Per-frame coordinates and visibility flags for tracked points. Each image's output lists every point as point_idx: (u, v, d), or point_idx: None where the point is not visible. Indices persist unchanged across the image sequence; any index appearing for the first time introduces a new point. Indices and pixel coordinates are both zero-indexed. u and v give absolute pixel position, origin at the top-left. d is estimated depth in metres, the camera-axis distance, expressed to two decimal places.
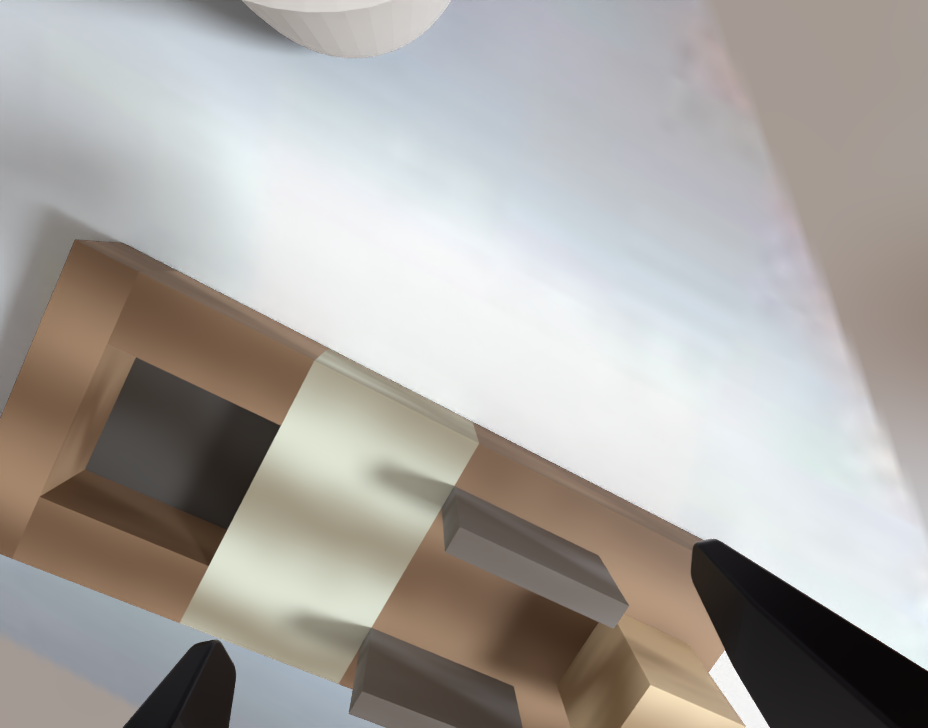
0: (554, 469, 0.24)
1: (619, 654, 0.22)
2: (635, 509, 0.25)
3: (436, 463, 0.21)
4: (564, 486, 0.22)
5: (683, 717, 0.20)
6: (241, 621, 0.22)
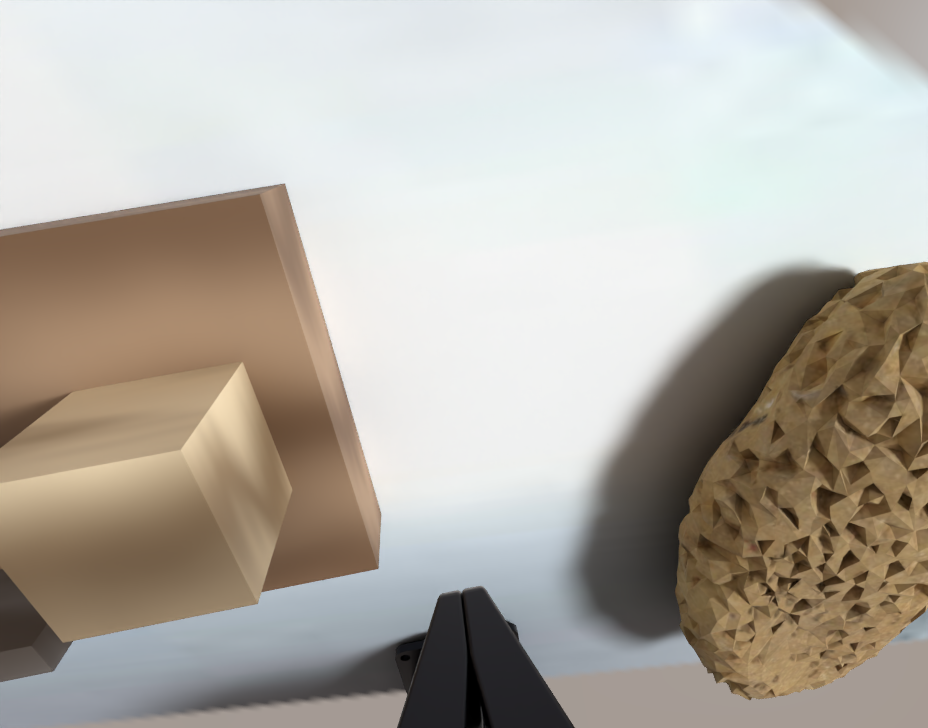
0: None
1: None
2: (33, 225, 0.14)
3: None
4: None
5: (66, 501, 0.11)
6: None
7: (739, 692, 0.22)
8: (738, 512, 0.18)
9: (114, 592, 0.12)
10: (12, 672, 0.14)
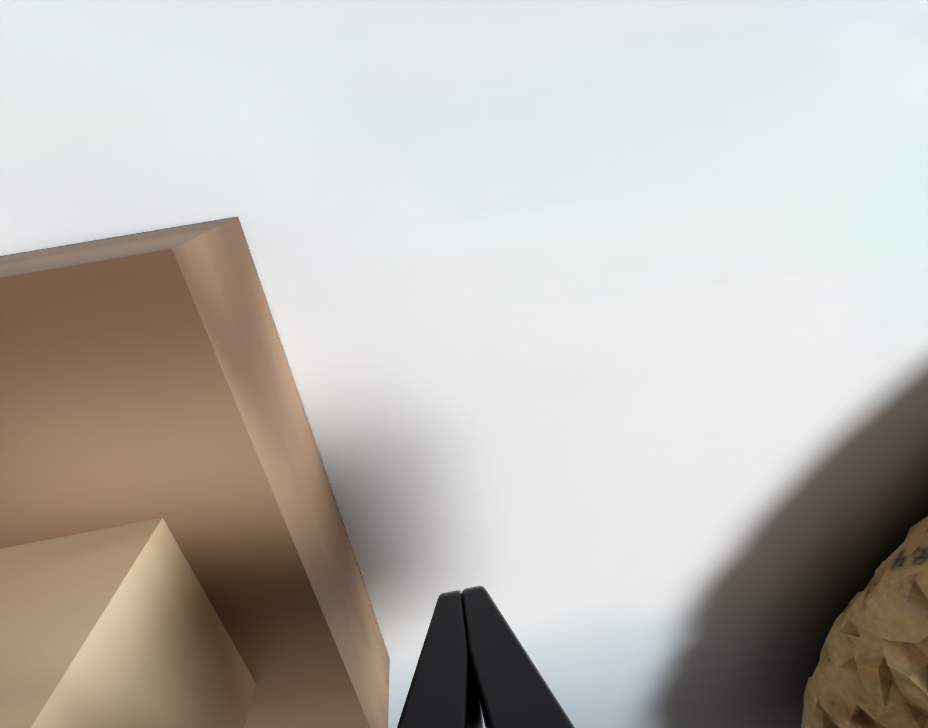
0: None
1: None
2: None
3: None
4: None
5: None
6: None
7: None
8: None
9: None
10: None
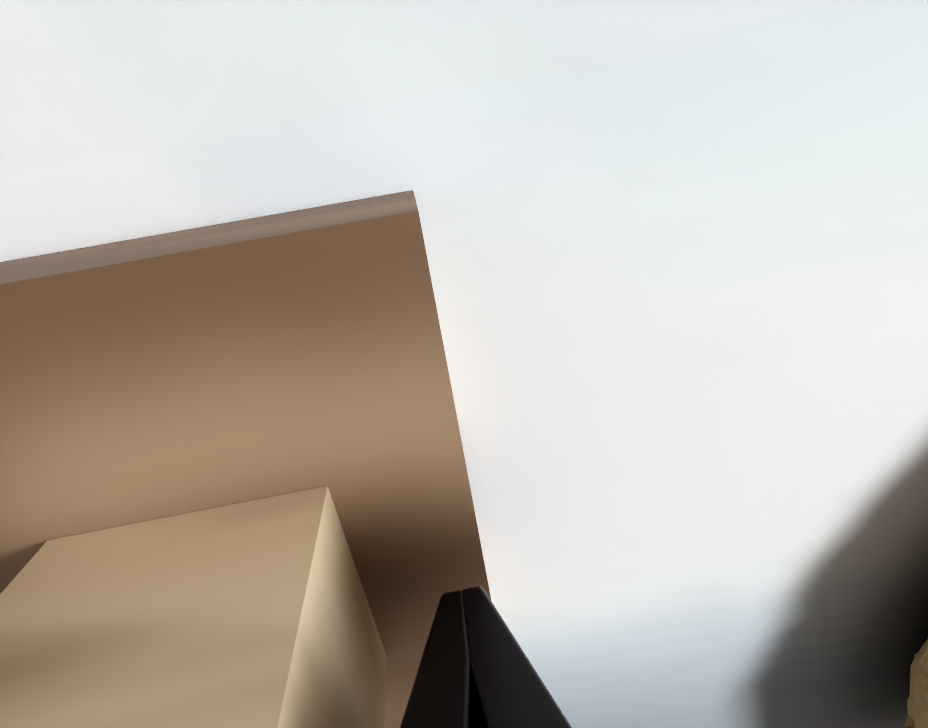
0: None
1: None
2: (15, 263, 0.09)
3: None
4: None
5: None
6: None
7: None
8: None
9: None
10: None
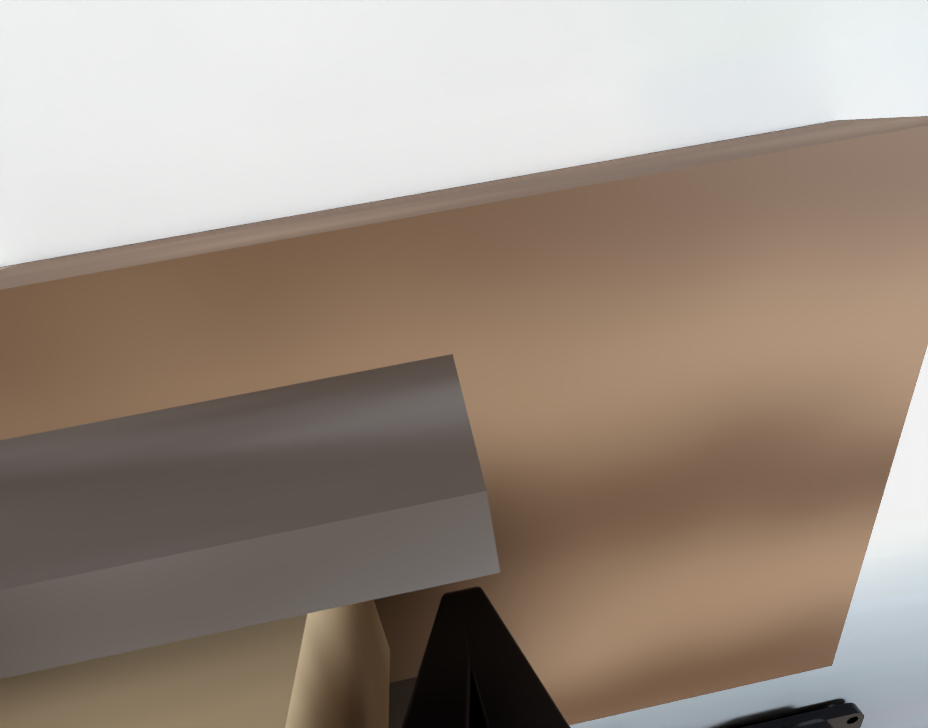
0: (239, 231, 0.09)
1: None
2: (515, 181, 0.09)
3: None
4: (194, 255, 0.07)
5: None
6: None
7: None
8: None
9: None
10: None
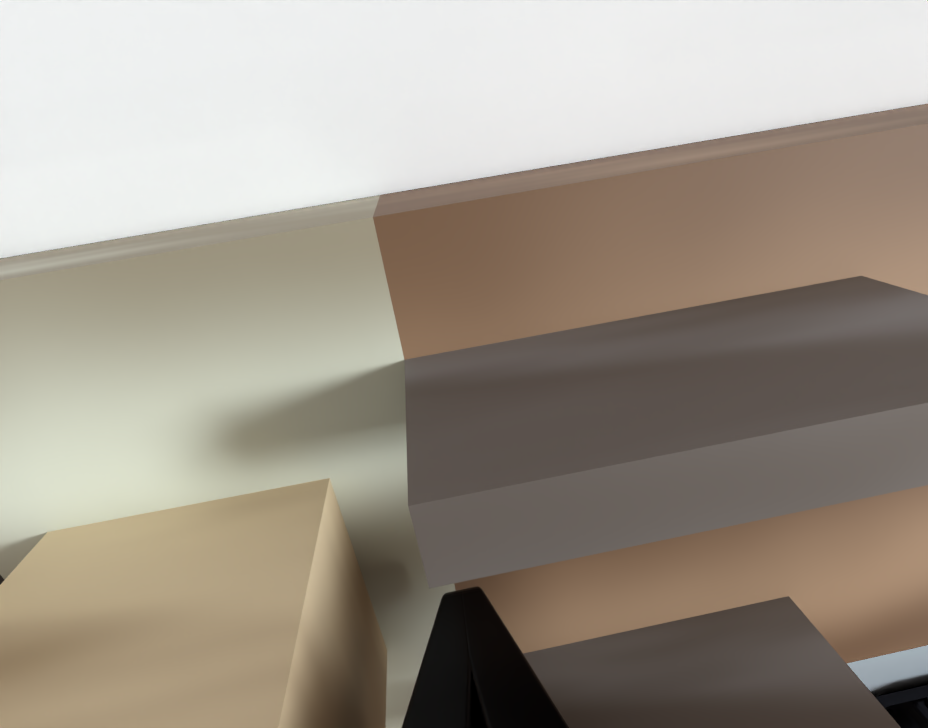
0: (626, 159, 0.09)
1: None
2: (878, 115, 0.09)
3: (321, 341, 0.08)
4: (677, 166, 0.07)
5: None
6: None
7: None
8: None
9: None
10: None
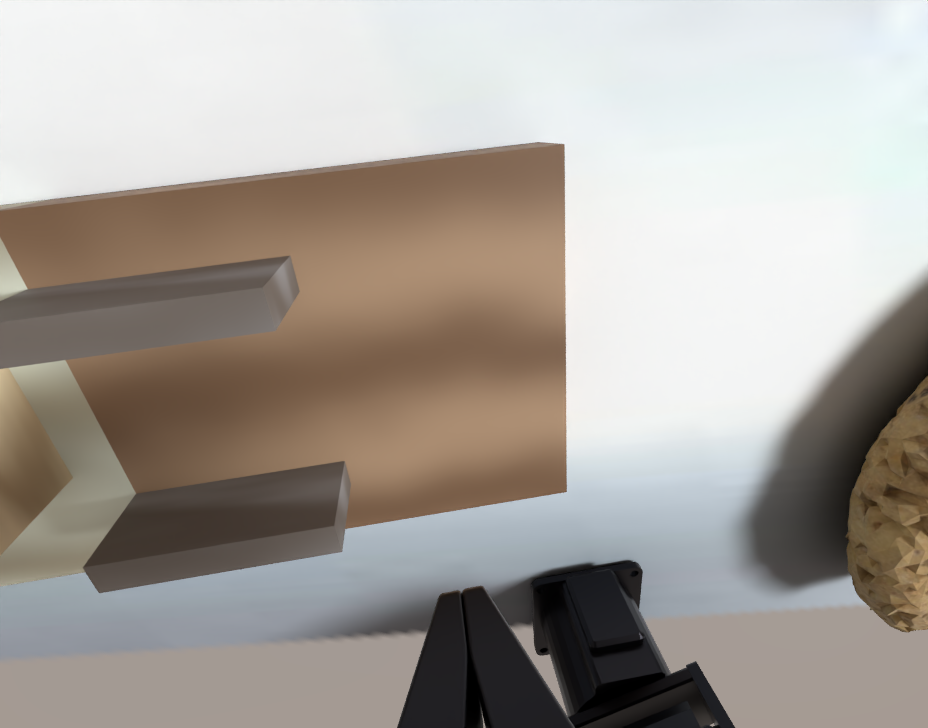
0: (180, 185, 0.16)
1: None
2: (338, 166, 0.16)
3: None
4: (151, 192, 0.14)
5: None
6: (15, 559, 0.19)
7: (903, 624, 0.26)
8: None
9: None
10: (309, 550, 0.16)
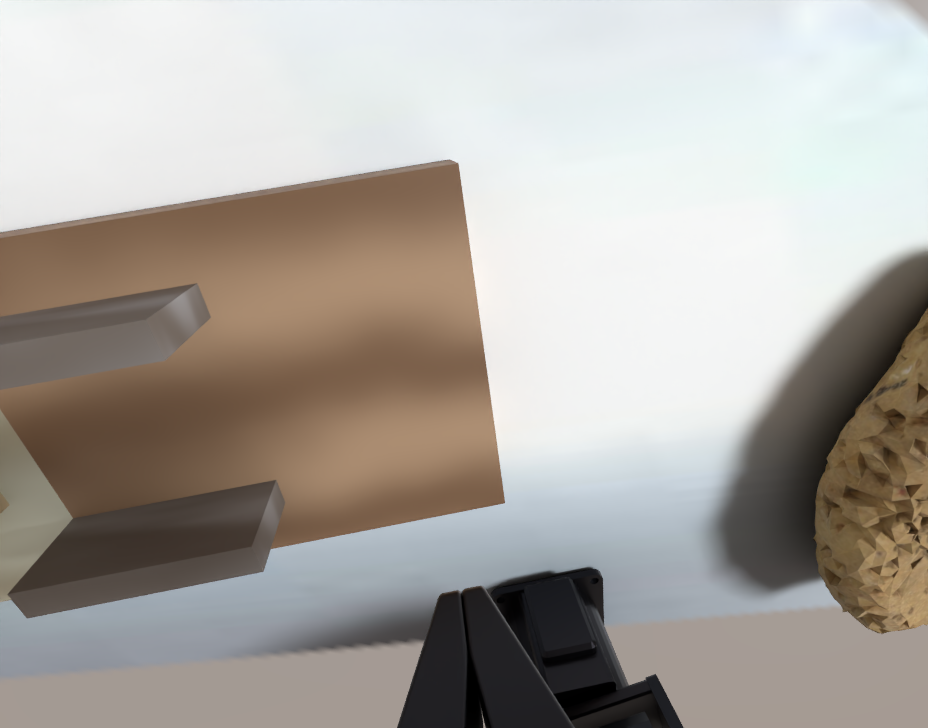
0: (93, 219, 0.16)
1: None
2: (247, 193, 0.17)
3: None
4: (54, 229, 0.14)
5: None
6: None
7: (875, 625, 0.25)
8: (887, 463, 0.21)
9: None
10: (230, 571, 0.16)
